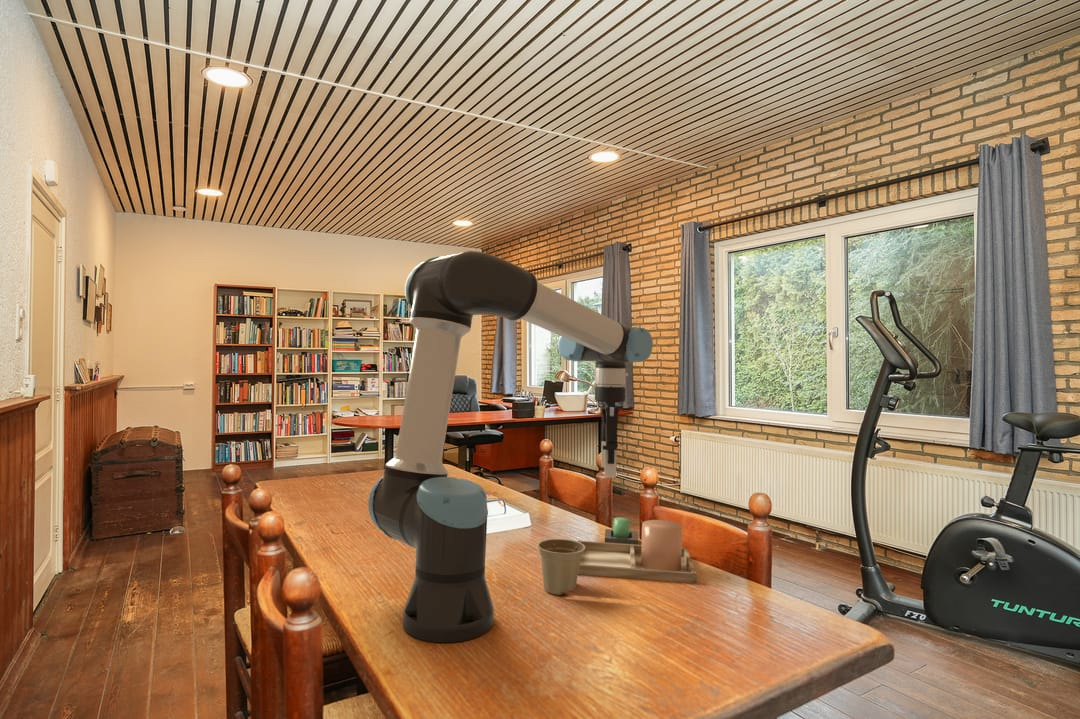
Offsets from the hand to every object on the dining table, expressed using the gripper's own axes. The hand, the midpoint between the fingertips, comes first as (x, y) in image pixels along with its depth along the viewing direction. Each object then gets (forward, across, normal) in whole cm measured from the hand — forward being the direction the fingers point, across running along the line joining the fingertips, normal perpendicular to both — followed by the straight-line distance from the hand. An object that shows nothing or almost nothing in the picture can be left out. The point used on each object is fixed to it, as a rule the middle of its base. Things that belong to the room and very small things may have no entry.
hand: (608, 472), depth 148 cm
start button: (+16, -1, -4) cm, 17 cm away
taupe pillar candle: (+17, -16, -11) cm, 26 cm away
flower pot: (+18, -31, +11) cm, 37 cm away
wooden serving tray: (+18, -16, -5) cm, 24 cm away
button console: (+18, -1, -4) cm, 18 cm away
